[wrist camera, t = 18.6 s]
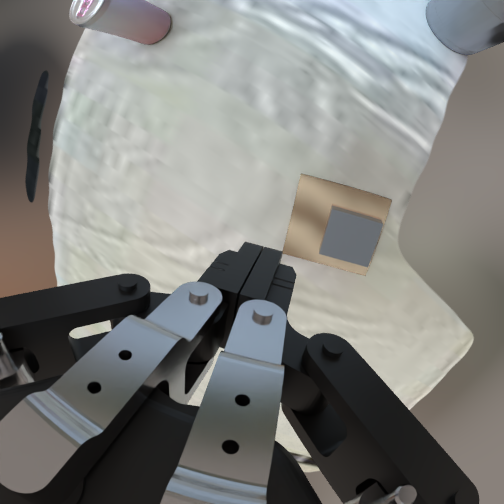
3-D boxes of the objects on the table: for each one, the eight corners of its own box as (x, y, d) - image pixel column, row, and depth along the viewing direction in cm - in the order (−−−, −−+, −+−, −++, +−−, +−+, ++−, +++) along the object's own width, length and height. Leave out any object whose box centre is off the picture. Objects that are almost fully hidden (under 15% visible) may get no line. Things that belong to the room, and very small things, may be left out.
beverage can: (132, 39, 32) (61, 21, 19) (151, 7, 30) (85, -22, 16) (159, 50, 33) (87, 29, 19) (180, 16, 30) (115, -18, 17)
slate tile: (332, 208, 34) (383, 224, 33) (331, 203, 36) (380, 218, 35) (318, 253, 36) (367, 267, 35) (319, 246, 38) (365, 259, 37)
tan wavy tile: (301, 173, 36) (300, 174, 35) (390, 199, 34) (391, 200, 33) (283, 250, 41) (282, 253, 40) (364, 273, 39) (365, 275, 38)
